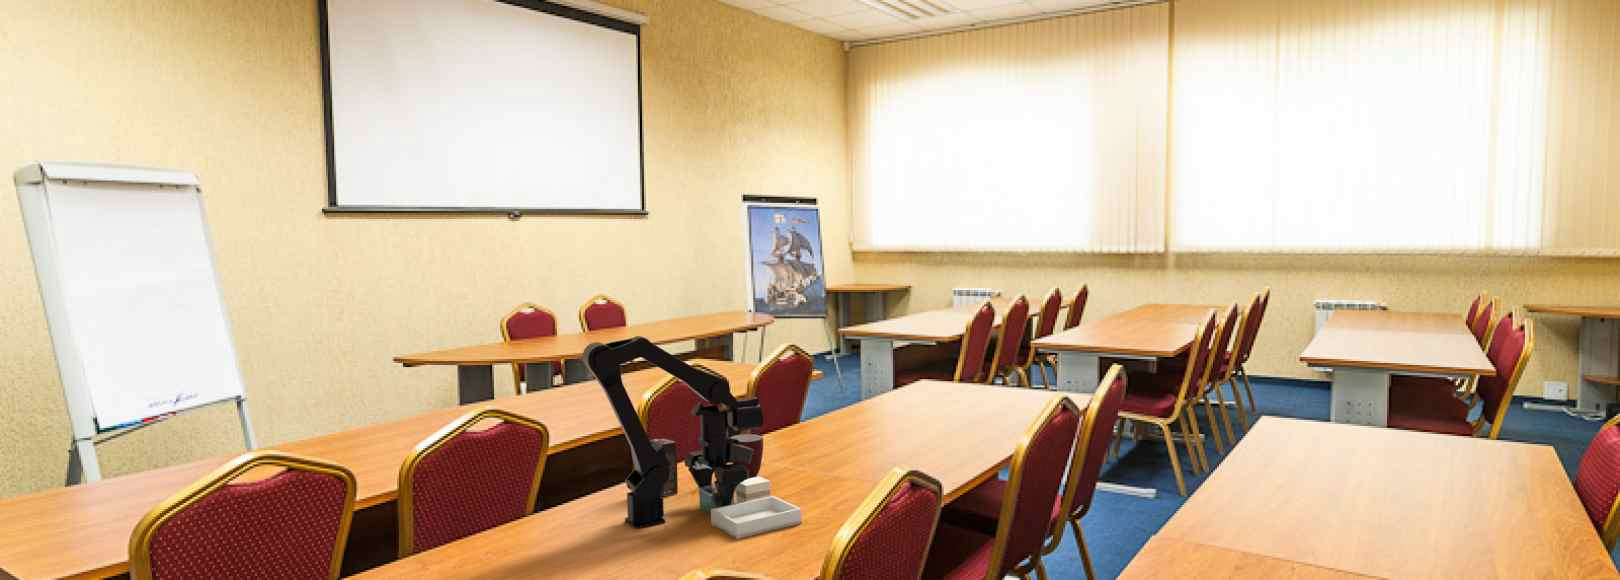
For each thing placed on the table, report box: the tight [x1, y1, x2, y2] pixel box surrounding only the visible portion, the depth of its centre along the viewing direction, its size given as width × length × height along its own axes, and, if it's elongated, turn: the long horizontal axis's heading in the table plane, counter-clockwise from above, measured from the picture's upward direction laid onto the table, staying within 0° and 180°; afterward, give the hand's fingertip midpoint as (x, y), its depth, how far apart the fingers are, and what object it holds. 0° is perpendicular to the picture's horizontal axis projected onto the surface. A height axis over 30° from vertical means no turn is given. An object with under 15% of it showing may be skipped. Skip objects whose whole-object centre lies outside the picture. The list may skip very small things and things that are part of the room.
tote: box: [710, 495, 803, 540], centre depth 181 cm, size 15×11×3 cm
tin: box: [697, 483, 735, 517], centre depth 190 cm, size 6×6×5 cm
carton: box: [735, 476, 771, 504], centre depth 195 cm, size 6×4×5 cm
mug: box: [730, 433, 764, 479], centre depth 212 cm, size 10×8×10 cm
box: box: [649, 437, 679, 497], centre depth 204 cm, size 6×4×12 cm
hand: (716, 505), depth 190 cm, fingers open, 8 cm apart
